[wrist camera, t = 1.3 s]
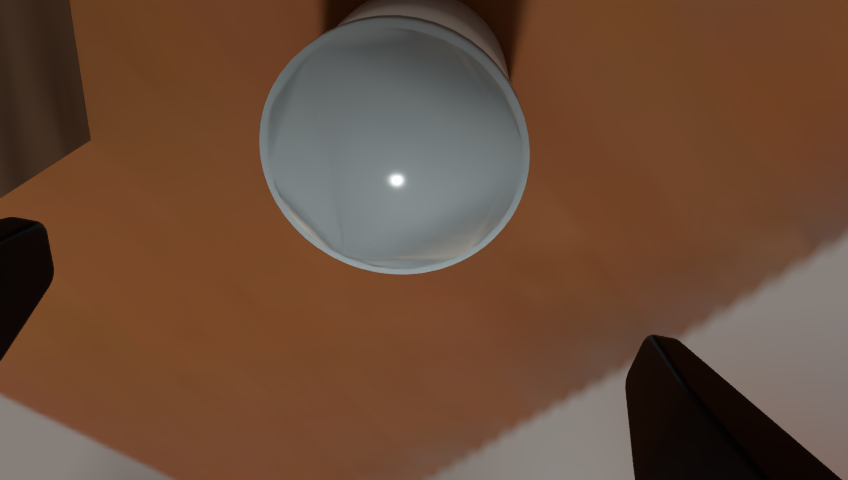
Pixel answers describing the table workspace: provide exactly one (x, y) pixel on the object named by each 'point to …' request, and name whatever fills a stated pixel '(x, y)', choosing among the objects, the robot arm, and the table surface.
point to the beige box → (38, 89)
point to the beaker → (397, 137)
